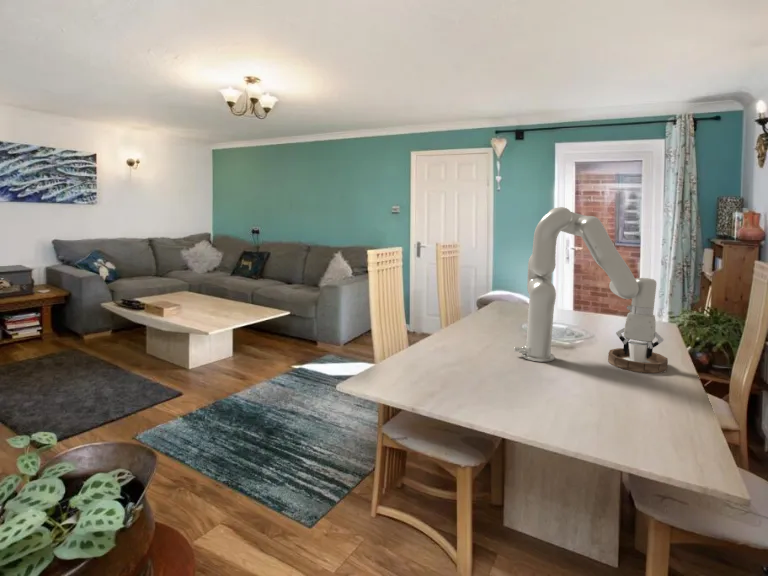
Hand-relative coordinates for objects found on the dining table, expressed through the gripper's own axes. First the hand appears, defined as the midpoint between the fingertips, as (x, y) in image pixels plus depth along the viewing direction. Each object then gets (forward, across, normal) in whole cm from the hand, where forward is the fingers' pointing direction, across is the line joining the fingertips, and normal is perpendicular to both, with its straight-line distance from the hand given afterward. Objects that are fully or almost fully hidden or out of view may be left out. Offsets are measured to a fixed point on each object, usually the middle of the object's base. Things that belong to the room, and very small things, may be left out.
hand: (637, 355), depth 176 cm
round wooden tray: (+4, 0, 0) cm, 4 cm away
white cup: (+2, 0, 0) cm, 2 cm away
